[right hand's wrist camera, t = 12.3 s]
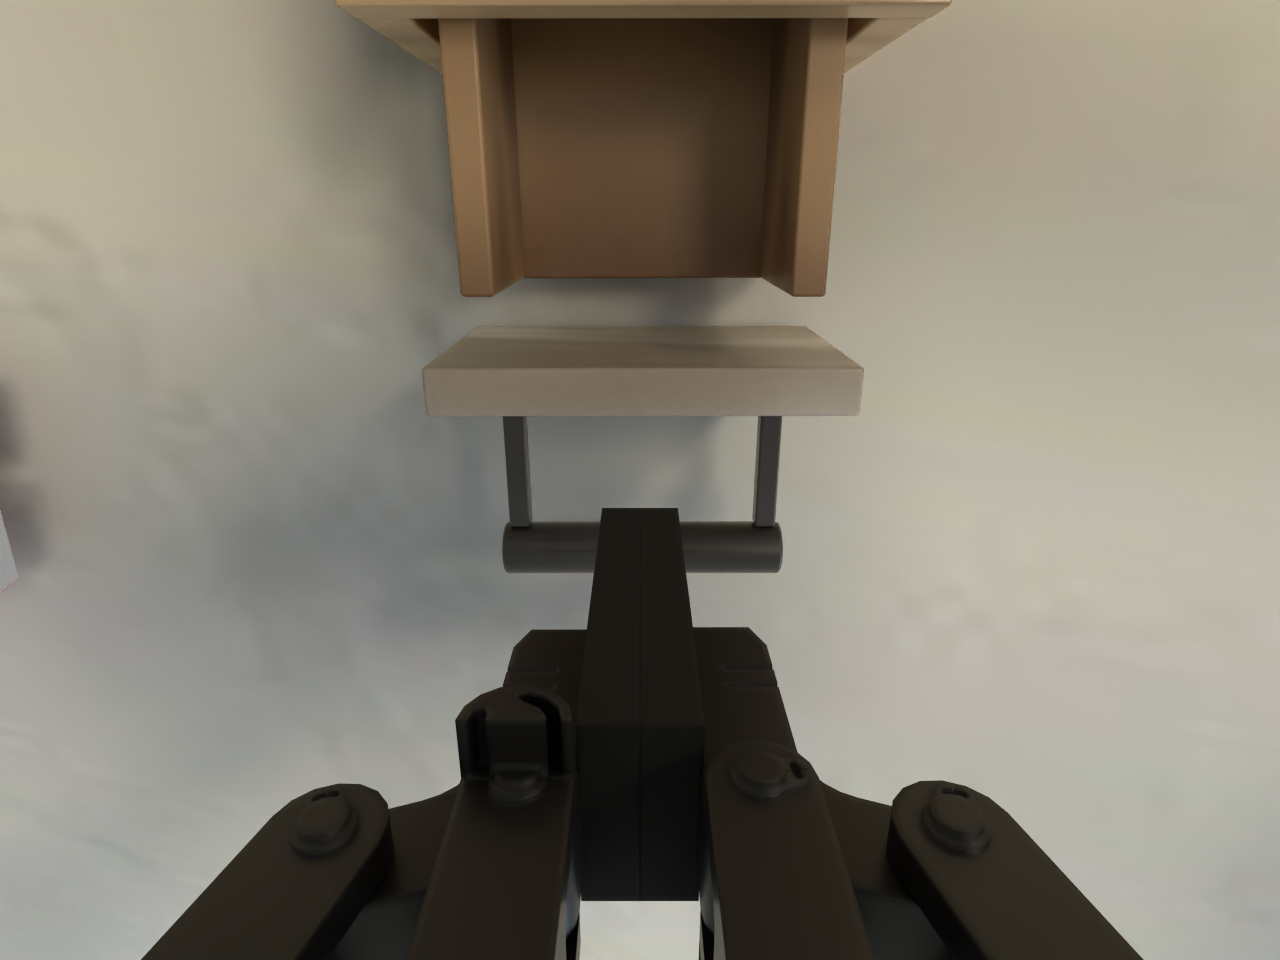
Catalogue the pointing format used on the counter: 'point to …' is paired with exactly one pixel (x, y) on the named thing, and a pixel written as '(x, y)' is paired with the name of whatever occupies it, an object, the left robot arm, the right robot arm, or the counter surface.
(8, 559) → the toy
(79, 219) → the counter surface
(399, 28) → the cabinet
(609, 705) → the right robot arm
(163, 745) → the counter surface
